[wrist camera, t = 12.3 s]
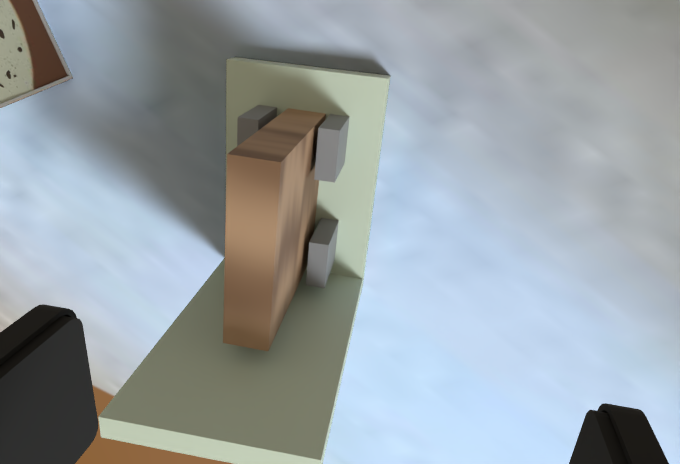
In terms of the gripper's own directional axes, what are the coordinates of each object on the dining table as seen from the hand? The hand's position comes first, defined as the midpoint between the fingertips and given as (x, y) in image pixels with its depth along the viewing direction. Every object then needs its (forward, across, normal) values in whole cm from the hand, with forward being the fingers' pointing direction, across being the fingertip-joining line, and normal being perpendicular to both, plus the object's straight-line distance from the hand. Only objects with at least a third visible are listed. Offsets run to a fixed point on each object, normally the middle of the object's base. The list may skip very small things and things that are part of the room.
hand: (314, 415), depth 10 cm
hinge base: (+26, +7, +4) cm, 27 cm away
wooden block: (+24, +6, +4) cm, 26 cm away
